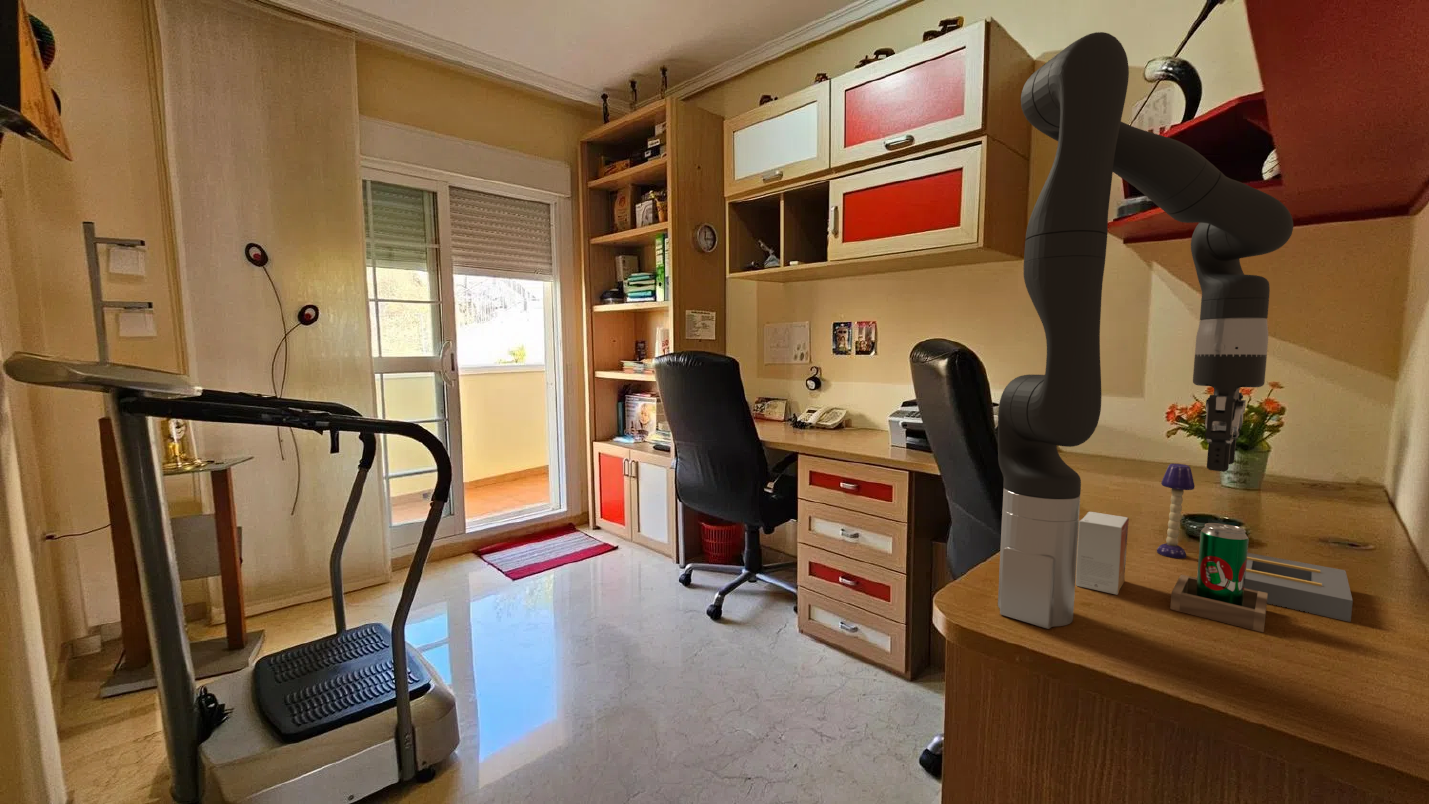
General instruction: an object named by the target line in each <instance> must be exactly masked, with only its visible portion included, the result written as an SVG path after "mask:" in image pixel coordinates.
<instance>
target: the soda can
mask: <svg viewBox="0 0 1429 804" xmlns="http://www.w3.org/2000/svg"><path fill="white" fill-rule="evenodd" d="M1246 532H1247V531H1246V529H1244V528H1243V527H1242V528H1241V527H1239V526H1236V525H1233V524H1232V525H1231V524H1225V523H1217V522H1208V523H1205V524H1204V527H1203V528H1202V529H1201V530H1200V533H1199V534H1200V535H1199V547H1198V548H1199V549H1198V559H1197V560H1198V561H1197V576H1196V578H1197V585H1196V596H1200V597H1204V598H1209V599H1213V600H1217V601H1222V602H1226V603H1230V604H1234V605H1239V606H1243V601H1244V589H1245V577H1246V565H1247V553H1249V552H1248V551H1249V537H1248V536H1247V534H1246Z"/></svg>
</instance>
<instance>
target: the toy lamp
mask: <svg viewBox="0 0 1429 804" xmlns="http://www.w3.org/2000/svg"><path fill="white" fill-rule="evenodd" d="M1160 484H1161V486H1163V487H1165V488H1168V489H1169V488H1170V489H1171V490H1170V491H1171V492H1170V493H1171V496H1170V502H1171V503H1170V505H1169V510H1170V512H1169V514H1168V518H1169V520H1168V522H1167V526H1168V529H1167V530H1166V534H1167V535H1166V536H1167V537H1166V539H1165V541H1166V543H1162V544H1160V545H1159V546H1158V547H1157V549H1156V553H1157V554H1159V555H1160V556H1164V557H1167V558H1171V559H1186V558H1187V552H1186V551H1185V549H1184V548H1183V547H1182V546H1180V545H1179V538H1178V537H1179V536H1180V528H1181V519H1182V513H1181V512H1182V511H1183V510H1182V509H1183V505H1182V504H1183V495H1184V491H1193V490H1195V481H1194V476H1193V473H1192V469H1191V467H1190V465H1187V464H1184V463H1183V464H1182V463H1170V464H1168V466H1167V468H1166V471H1165V473H1164V476H1163V478H1162V480H1161V483H1160Z"/></svg>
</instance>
